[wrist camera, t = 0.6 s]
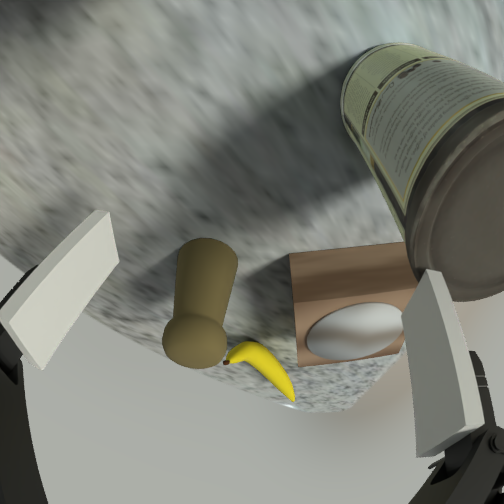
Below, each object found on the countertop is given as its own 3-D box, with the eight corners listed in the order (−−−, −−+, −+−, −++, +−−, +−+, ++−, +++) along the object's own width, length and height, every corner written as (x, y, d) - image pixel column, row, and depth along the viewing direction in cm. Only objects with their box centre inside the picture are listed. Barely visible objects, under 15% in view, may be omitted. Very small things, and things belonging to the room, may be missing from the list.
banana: (284, 376, 48) (285, 411, 43) (218, 320, 37) (213, 366, 32) (300, 373, 47) (302, 408, 42) (238, 314, 36) (235, 361, 31)
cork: (197, 287, 33) (182, 380, 25) (166, 249, 29) (137, 346, 21) (248, 273, 31) (244, 371, 23) (220, 229, 28) (205, 334, 19)
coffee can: (475, 82, 16) (603, 179, 6) (423, 178, 23) (497, 312, 13) (367, 16, 14) (504, 45, 4) (318, 137, 22) (361, 284, 12)
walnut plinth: (288, 253, 29) (293, 305, 25) (405, 241, 28) (428, 288, 23) (295, 324, 37) (298, 369, 33) (386, 313, 36) (398, 355, 31)
